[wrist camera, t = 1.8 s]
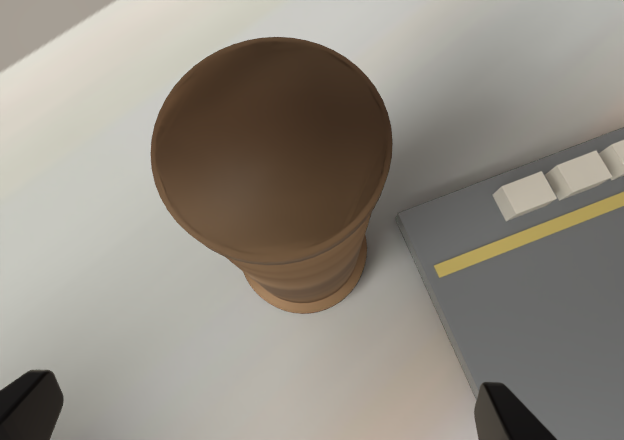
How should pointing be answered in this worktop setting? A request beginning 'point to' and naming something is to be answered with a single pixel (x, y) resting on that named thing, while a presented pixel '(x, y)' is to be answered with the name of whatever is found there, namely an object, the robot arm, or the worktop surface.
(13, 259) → the worktop surface
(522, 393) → the panel
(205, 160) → the mill
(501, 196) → the set of cream blocks
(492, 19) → the worktop surface
